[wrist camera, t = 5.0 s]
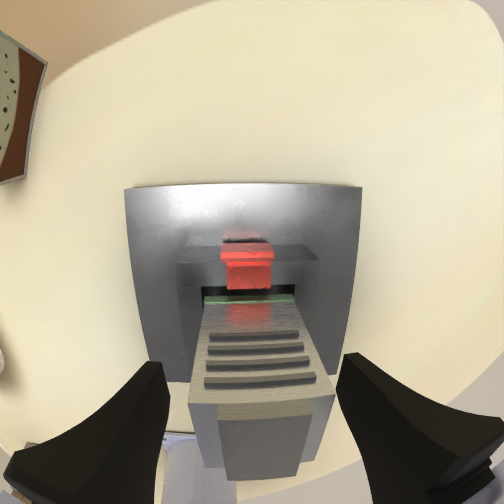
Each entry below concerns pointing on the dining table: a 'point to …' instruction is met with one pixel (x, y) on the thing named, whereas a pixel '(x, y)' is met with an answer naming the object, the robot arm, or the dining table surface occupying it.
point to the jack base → (241, 258)
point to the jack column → (257, 388)
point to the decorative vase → (1, 361)
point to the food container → (17, 105)
